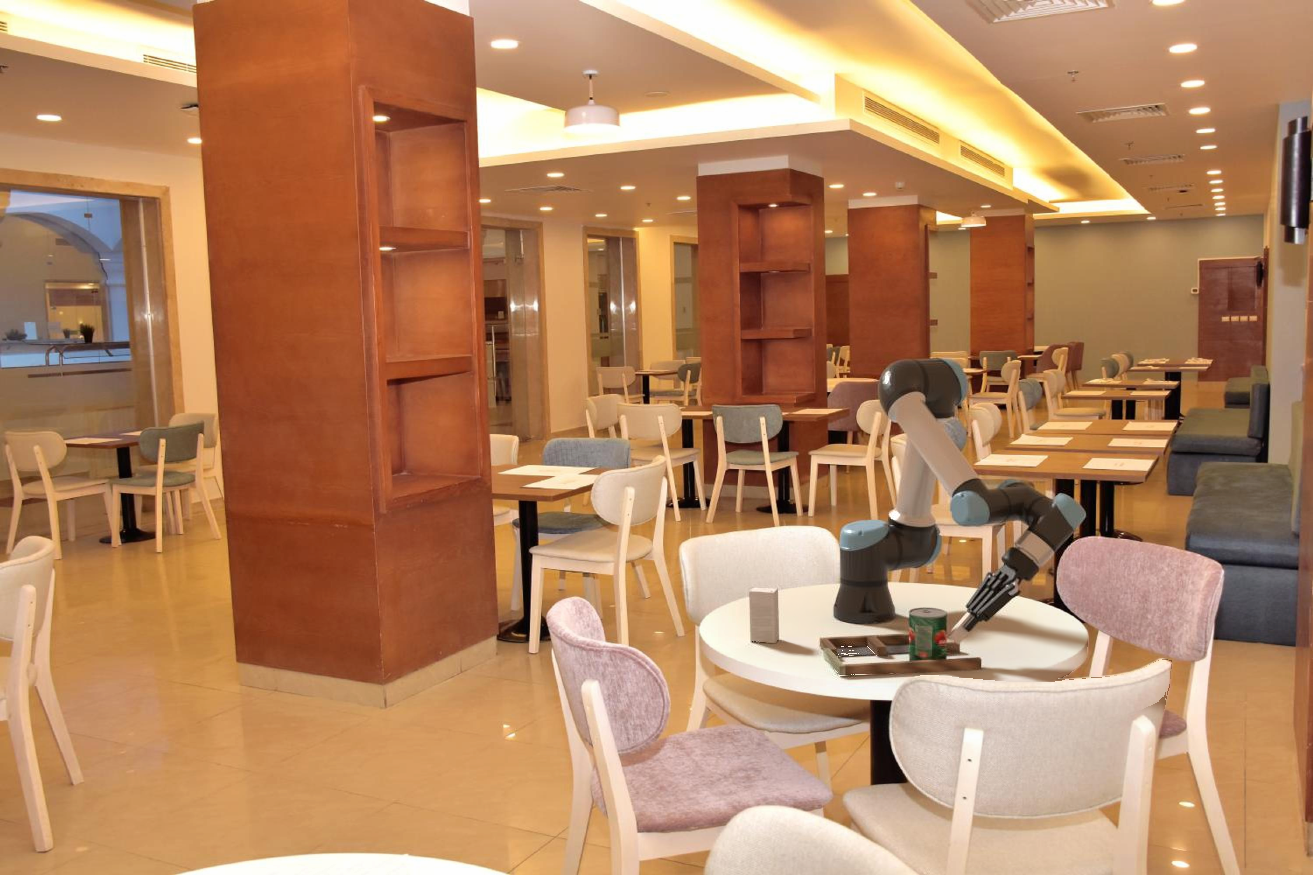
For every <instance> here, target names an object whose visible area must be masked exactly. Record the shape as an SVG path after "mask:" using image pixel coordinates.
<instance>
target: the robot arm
mask: <svg viewBox="0 0 1313 875" xmlns="http://www.w3.org/2000/svg"><path fill="white" fill-rule="evenodd" d="M963 368H964V367H963V366H961V365H960V364H959V363H958V361H956V360H955V359H952V358H943V357H931V358H920V359H919V358H915V359H910V358H909V359H908V358H906V359H905V358H904V359H899V360H896V361H894V362H892V363H890V364H888V366H886V368H885V369H884V370H883V372H882V373H881V375H880V377H879V379H878V384H877V397H878V400H879V404H880V406H881V408H882V410H883V412H884V413H885V415H886V416H887V418H888V419H889V420H890V421H891V422H892V423H896V424H898V425H899V426H900V428H901V430H902V431H903V433H904V434H905V435H906V439H905V441H906V442H905V446H904V452H903V460H902V465H901V466H902V468H901V471H900V472H901V473H900V478H899V485H898V492H897V498H896V505H895V507H894V508H893V509H891V510H890V511H889V512H888V516H887V522H886V521H884V520H881V519H867V520H865V519H862V520H856V521H852V522H850V523H846V524H845V525H844V526H843V527H841V530H840V535H839V536H840V537H839V543H838V546H839V580H840V582H839V583H840V584H839V588H838V590H837V591H838V592H837V595H836V598H835V601H834V604H833V617H834V618H835V619H837V620H839V621H843V622H847V623H852V622H853V623H855V624H881V623H885V622H889V621H893V620H894V619H895V618H896V606H895V605H894V601H893V597H892V594H891V591H890V589H889V572H894V571H901V570H907V569H919V568H921V567H925V566H928V565H931V564H932V563H933V562H935V561H936V560H937V558H938V557H939V555H940V554H941V551H942V545H943V536H942V535H940V533H941V530H940V528H939V525H937V524H936V518H935V517H934V516H933V515H932V508H933V507H932V505H933V502H934V500H933V499H934V495H935V494H934V493H935V489H936V482H937V480H938V481H939V482H940V484H941V486H942V487H943V488H944V490H945V491H946V492H947V494H948V495H949V496H950V498H951V499H950V501H949V502H950V503H949V511H950V512H951V517H952V520H953V521H954V522H955V523H956V524H957V525H959V526H961V527H968V528H970V527H981V526H986V525H992V524H993V525H994V524H1001V523H1008V522H1010V523H1011V522H1018V521H1019V522H1021V523H1023V524H1025V525H1026V526H1027V528H1026V529H1025V530H1024V531H1023V532H1022V533H1021V535H1019V537H1018V538H1017V539H1015V540H1016V541H1014V543H1013V545H1014V546H1010V547H1009V548H1008V549H1007V550H1006V552H1005V553H1004V554H1003V555H1002V556H1001V558H1000V559H1001V561H1002V563H1003V565H1002V566H1001V567H1000V568H999V569H997V570H996V572H995V573H992V572H991V571H988V572H987V573H986V574H985V576H984V578H983V581H982V582H981V584H980V585H979V586H978V588H977V589H976V590H975V592H974V593H973V595H972V596H971V598H970V599H969V600H968V602H966V605H965V608H966V613H965V614H964V615H963V616H962V618H960V620H959V621H958V622H957V623H956V624H955V625H954V627H952V628H951V629H950V631H949V632H948V633H947V637H949V638H950V639H951V640H952V642H956V643H957V644H958V645H959V644H960V645H961V643H962V641H963V640H964V639H965V638H966V637H967V636H968V635H969V634H970V633H971V631H973V629H974V628H975V627H976V626H977V625H978V624H979V623H981V622H985V623H986V622H989V621H990V620H991V619H992V618H993V617H994V616H995V615H996V614H997V613H999V612H1000V611H1001V609H1003V608H1004V607H1005V606H1006V605H1007V604H1008V603H1009V602H1010V601H1012V600H1013V599H1014V598H1016V597H1017V596H1018V597H1019V595H1020V594H1021V593H1022V591H1021V590H1020V589H1019V586H1020V585H1021V583H1022V581H1026V582H1030V581H1032V580H1033V578H1034V577H1035V576H1036V575H1037V574H1038V572H1039V571H1040V567H1042V568H1043V567H1044V565H1046V563H1047V562H1049V561H1051V558H1052V557H1053V555H1054V554H1055V553H1056V552H1057V551H1058V549H1059V548H1061V546H1062V545H1063V544H1064V543H1065V542H1066V541H1067V540H1068V539H1069V538H1070V537H1071V536H1072V534H1074V533H1075V532H1076V531H1077V528H1079V526H1080V525H1081V524H1082V523H1083V521H1084V520H1085V518H1087V513H1086V510H1085V508H1083V506H1082V505H1081V504H1080V503H1079V502H1078V501H1076V500H1075V499H1074V498H1073V497H1071V496H1069V495H1067V494H1066V493H1061V492H1060V493H1058V494H1057V495H1056V496H1054V497H1053V498H1052V497H1051V498H1050V497H1048V496H1047V495H1045V494H1044V493H1043V492H1040V491H1038V490H1037V489H1035V488H1034V487H1032V486H1031V485H1030V484H1029V483H1026V482H1024V481H1021V480H1019V479H1017V478H1008V479H1005V481H1003V482H1001V483H999V485H998V486H997V488H988V487H987V485H986V484H985V483H984V481H983V480H982V479H981V478H980V476H979V475H978V473H977V472H976V470H974V468H973V467H972V466H971V464H970V463H969V461H968V460H967V459H966V457H965V456H964V455H963V452H961V450H960V449H959V448H958V446H957V445H956V444H955V442H954V441H953V440H952V438H951V436H949V434H948V433H947V432H946V430H945V429H946V428H945V427H946V423H947V422H948V421H950V420H951V419H952V418H953V417H954V413H955V407H957V406H960V405H961V404H962V403H963V402H964V401H965V400H966V398H967V396H968V392H969V381H968V376H967V373H966V372H965V371H964V369H963Z"/></svg>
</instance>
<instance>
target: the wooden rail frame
mask: <svg viewBox="0 0 1313 875" xmlns="http://www.w3.org/2000/svg"><path fill="white" fill-rule="evenodd" d="M841 646H844V647H841ZM848 646H852V647H848ZM867 646H868V647H869V648H870V649H871V650H872V651H873V652H874V653H875V654H876V655H877V656H880V657H879V658H882V657H883V656H886V657H887V654H890V655H903V654H902V653H909V632H907V633H891V634H889V633H888V634H887V633H885V634H870V635H869V634H867V635H849V636H830V637H819V648H820V647H821V648H820V650H821V651H822V650H823V651H822V652H823V657H824V658H825V659H824V658H823V659H824V661H825V662H826V661H827V662H828V663H829V664H830V665H831V666H832V667H833V668H834V669H835V670H836V671H837V672H838V674H839V675H851V674H852V675H853V674H854V675H855V674H883V675H891V674H890V673H893V674H892V675H897V674H896V673H901V674H915V673H916V674H917V673H918V672H920V673H931V672H932V673H935V672H952V671H953V672H954V671H957V672H958V671H972V670H974V671H975V670H982V658H981V657H976V656H975V657H958V658H947V659H936V660H917V661H909V660H904V661H903V660H902V661H884V662H883V661H882V662H865V663H864V662H863V663H847V664H846V663H845V664H844V663H843V662H842V660H841V659H840V658H839V657H837V656H849V655H871V656H876V655H875V654H874V653H873V652H872V651H871V650H870V649H869V648H868V647H867ZM842 650H843V651H842ZM849 650H851V651H849ZM852 650H854V651H852ZM960 652H961V643H960V644H959V645H958V644H957V643H956V642H954V641H947V654H956V653H957V654H958V653H959V654H960ZM841 653H846V654H848V653H857V654H848V655H844V654H841ZM858 653H859V654H858ZM838 654H839V655H838ZM877 656H876V657H877ZM881 656H882V657H881ZM883 658H884V657H883ZM827 662H826V663H827ZM828 663H827V664H828ZM829 664H828V665H829ZM830 665H829V666H830ZM831 666H830V667H831ZM832 667H831V668H832ZM838 674H837V675H838Z"/></svg>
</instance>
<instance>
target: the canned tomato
mask: <svg viewBox="0 0 1313 875" xmlns="http://www.w3.org/2000/svg"><path fill="white" fill-rule="evenodd" d="M947 615H948V612H947V611H945V610H943V609H940V608H936V607H916V608H911V609H909V611H908V633H909V654H908V661H917V660H936V659H948V657H947V654H948V653H947V642H948V640H947V637H948V635H947V634H948V633H947V631H948V629H947V622H948V619H947Z"/></svg>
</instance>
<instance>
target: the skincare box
mask: <svg viewBox="0 0 1313 875" xmlns="http://www.w3.org/2000/svg"><path fill="white" fill-rule="evenodd" d="M748 596H749V597H748V598H749V599H748V600H749V635H750V639H749V640H750V642H751V641H753V642H752V643H760V642H766V643H765V644H776V643H777V642H778V641H779V640H780V619H779V618H780V617H779V614H780V613H779V612H780V610H779V589H778V588H772V587H771V588H769V587H768V588H767V587H753V588H752V589H751V590H749V591H748ZM777 640H778V641H777ZM754 641H756V642H754Z"/></svg>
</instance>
